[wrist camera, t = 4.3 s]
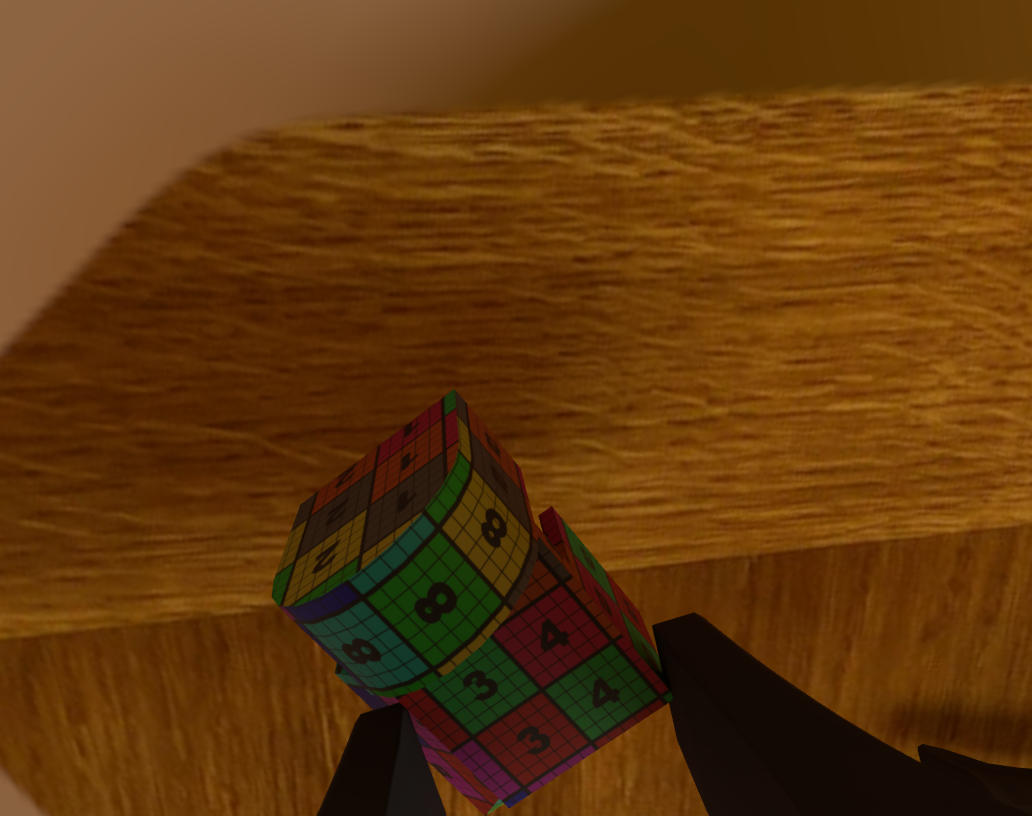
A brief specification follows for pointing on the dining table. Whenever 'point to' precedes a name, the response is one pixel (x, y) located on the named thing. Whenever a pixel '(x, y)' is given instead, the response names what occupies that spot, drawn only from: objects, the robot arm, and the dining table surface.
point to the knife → (982, 776)
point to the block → (468, 609)
